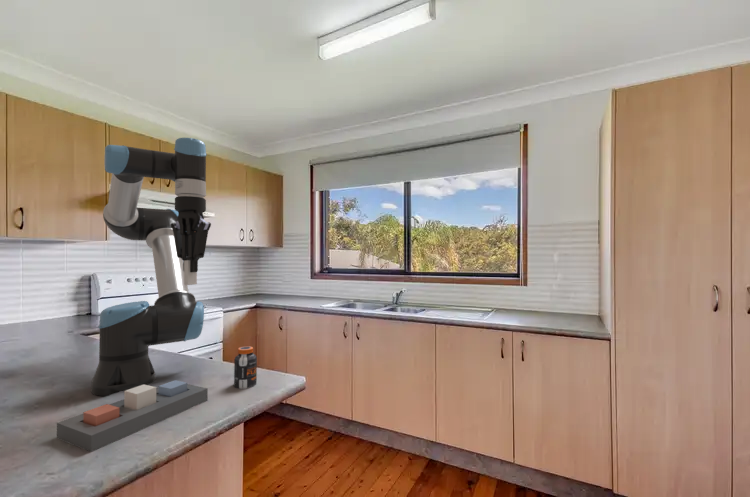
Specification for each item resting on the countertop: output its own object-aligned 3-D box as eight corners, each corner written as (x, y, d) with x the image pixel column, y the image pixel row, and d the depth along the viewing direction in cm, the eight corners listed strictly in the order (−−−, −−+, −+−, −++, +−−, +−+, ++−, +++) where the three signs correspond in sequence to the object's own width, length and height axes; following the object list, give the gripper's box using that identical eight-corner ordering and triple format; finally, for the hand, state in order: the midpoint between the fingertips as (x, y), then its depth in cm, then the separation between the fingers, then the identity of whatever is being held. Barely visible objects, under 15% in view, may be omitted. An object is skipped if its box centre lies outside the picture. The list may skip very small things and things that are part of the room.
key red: (83, 431, 75) (83, 412, 75) (106, 422, 79) (106, 404, 79) (96, 436, 73) (96, 416, 73) (119, 426, 77) (119, 407, 77)
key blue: (158, 402, 90) (158, 385, 90) (175, 396, 94) (175, 380, 94) (170, 405, 88) (170, 388, 88) (187, 398, 92) (187, 382, 92)
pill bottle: (249, 392, 100) (249, 351, 100) (229, 391, 101) (229, 349, 101) (260, 385, 106) (260, 345, 106) (241, 383, 107) (241, 344, 107)
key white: (124, 408, 82) (124, 390, 82) (143, 401, 86) (143, 384, 86) (136, 412, 80) (136, 394, 80) (156, 404, 84) (156, 387, 84)
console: (56, 442, 74) (56, 422, 74) (175, 396, 98) (175, 381, 98) (91, 457, 69) (91, 435, 69) (207, 404, 93) (207, 388, 93)
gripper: (161, 196, 99) (161, 284, 99) (195, 193, 94) (195, 286, 94) (186, 200, 106) (186, 282, 106) (219, 197, 100) (219, 284, 100)
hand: (190, 284), depth 100 cm, fingers closed
